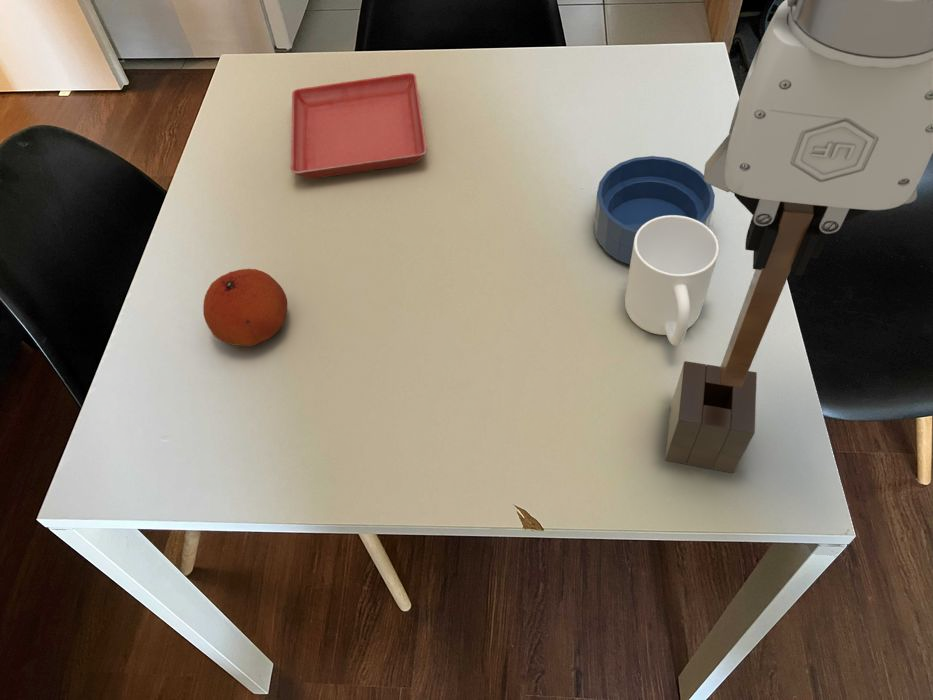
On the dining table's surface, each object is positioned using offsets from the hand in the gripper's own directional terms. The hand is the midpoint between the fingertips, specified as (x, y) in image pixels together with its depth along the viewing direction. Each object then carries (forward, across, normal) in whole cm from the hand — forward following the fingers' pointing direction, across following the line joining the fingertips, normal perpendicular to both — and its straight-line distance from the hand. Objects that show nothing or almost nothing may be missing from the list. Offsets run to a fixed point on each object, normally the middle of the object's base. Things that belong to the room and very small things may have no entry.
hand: (777, 255), depth 49 cm
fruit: (+26, -50, +4) cm, 57 cm away
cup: (+26, -5, +14) cm, 30 cm away
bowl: (+26, -8, +27) cm, 38 cm away
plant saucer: (+26, -50, +38) cm, 68 cm away
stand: (+26, 0, 0) cm, 26 cm away
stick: (+15, 0, 0) cm, 15 cm away
